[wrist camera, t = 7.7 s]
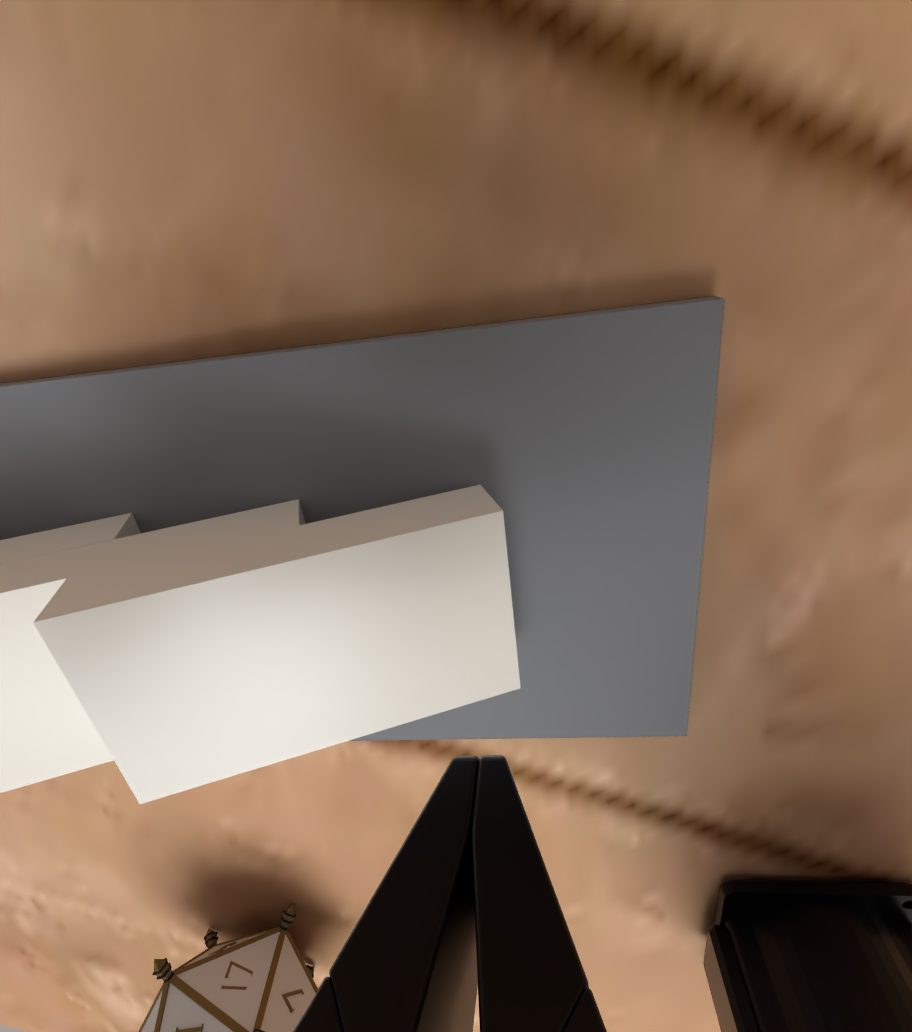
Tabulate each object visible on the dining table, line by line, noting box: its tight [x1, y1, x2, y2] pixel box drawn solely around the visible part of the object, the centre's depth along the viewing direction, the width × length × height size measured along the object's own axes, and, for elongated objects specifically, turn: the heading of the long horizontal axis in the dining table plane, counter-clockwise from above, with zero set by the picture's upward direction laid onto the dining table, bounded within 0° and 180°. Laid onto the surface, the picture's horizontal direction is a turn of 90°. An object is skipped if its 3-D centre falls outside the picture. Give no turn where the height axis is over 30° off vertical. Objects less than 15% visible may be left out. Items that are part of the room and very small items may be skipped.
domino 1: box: [0, 499, 306, 793], centre depth 13 cm, size 2×5×9 cm
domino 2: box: [33, 485, 521, 804], centre depth 12 cm, size 2×5×9 cm
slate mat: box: [0, 296, 724, 741], centre depth 15 cm, size 26×12×1 cm, turn 97°
